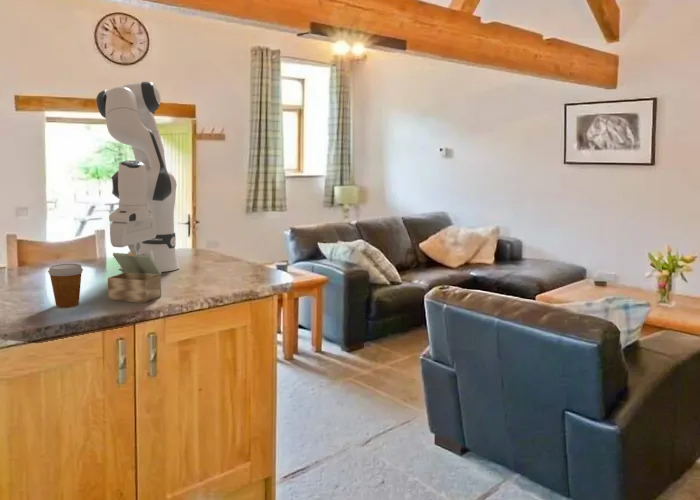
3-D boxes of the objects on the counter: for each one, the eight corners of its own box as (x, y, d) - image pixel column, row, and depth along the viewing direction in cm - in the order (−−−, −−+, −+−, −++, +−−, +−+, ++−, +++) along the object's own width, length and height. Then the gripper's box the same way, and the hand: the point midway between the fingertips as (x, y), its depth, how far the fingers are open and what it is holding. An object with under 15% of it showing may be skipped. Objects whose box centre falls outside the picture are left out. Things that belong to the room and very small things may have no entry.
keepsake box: (108, 299, 194) (107, 277, 193) (125, 293, 202) (124, 272, 201) (145, 303, 191) (145, 280, 190) (161, 296, 200) (160, 275, 198)
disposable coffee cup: (73, 299, 193) (71, 261, 191) (91, 304, 188) (89, 265, 186) (43, 305, 185) (41, 266, 183) (61, 311, 180) (59, 270, 178)
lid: (112, 254, 194) (113, 252, 195) (124, 271, 201) (125, 269, 202) (149, 257, 191) (150, 255, 192) (160, 274, 198) (161, 272, 199)
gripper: (143, 209, 204) (144, 250, 207) (105, 216, 184) (107, 261, 187) (160, 210, 203) (161, 251, 205) (124, 217, 183) (125, 263, 186)
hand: (135, 256), depth 196 cm, fingers closed
